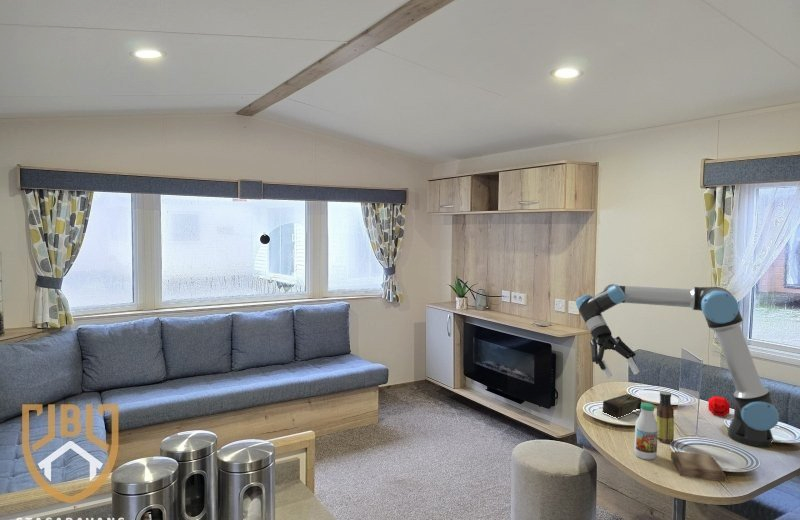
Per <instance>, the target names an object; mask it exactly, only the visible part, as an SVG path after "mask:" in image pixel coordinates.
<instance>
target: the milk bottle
mask: <svg viewBox="0 0 800 520" xmlns="http://www.w3.org/2000/svg"><path fill="white" fill-rule="evenodd" d="M654 412H655V405H654V404H652V403H650V402H641V410H640V413H639V416H638V417H637V418H636V421H635V424H634V425H635V427H634V428H635V429H634V443H633V444H634V445H633V453H634V455H635V456H636V457H638V458H640V459H643V460H647V461H650V460H651V461H652V460H655V459H656V458H657V451H658V439H657V435H658V427H657V423H656V422H657V419H655V413H654Z"/></svg>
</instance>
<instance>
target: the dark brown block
mask: <svg viewBox="0 0 800 520" xmlns="http://www.w3.org/2000/svg"><path fill="white" fill-rule="evenodd" d="M641 403H642V398H640V397H637V396H634V395H632V394H631V393H626V394H623V395H620V396H615V397H613V398H609V399H606V400H603V401H602V412H604V413H607V414H609V415H611V416H613V417H616V418H618V417H621V416H623V417H625V416H624V415H626V414H629V413H631V412H632V411H633V410H636V409H640V411H641ZM629 415H630V414H629ZM626 416H627V415H626ZM613 417H612V418H613ZM621 418H622V417H621ZM618 419H619V418H618Z"/></svg>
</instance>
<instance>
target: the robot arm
mask: <svg viewBox="0 0 800 520" xmlns="http://www.w3.org/2000/svg"><path fill="white" fill-rule="evenodd" d="M618 304H634V305H635V304H636V305H637V304H638V305H650V306H663V307H664V306H665V307H678V308H679V307H682V308H690V309H691V310H693V311H701V312H702V314H703V315H704V318H705V322H706V324H707V326H708V328H709V330H710V329H711V330H713V331H714V333H715V335H716V338H717V341H718V343H719V345H720V348H721V351H722V355H723V357H724V360H725V362H726V364H727V365H726V366H727V368H728V371H729V373H730V375H731V376H730V377H731V379H732V381H733V384H734V386H735V391H734V393H733V397H734V414H733V415H734V416H733V418H732V421H730V425H729V426H728V429H727V435H728V437H729V438H730V439H732V440H734V441H736V442H738V443H741V444H744V445H748V446H752V447H760V448H763V447H764V448H765V447H770V446H772V445H773V444H772V443H771V441H772V440H773V441H774V437H773V433H772V431H771V429H773V428H775V426H777V425H778V424H779V420H780V413H779V411H778V409H777V408H776V405H775V403H774V400H773V398H772V396H771V395H772V388H771V387H770V385H767V384H763V383H762V380H761V379H760V375H759V372H758V371H757V368H756V366H755V362H754V360H753V356H752V354H751V352H750V349H749V346H748V343H747V341H746V338H745V336H744V332H743V330H742V328H741V324H742V323H743V321H744V320H743V317H742V314H741V312H740V308H739V303H738V300H737V299H736V297H735V296H734V295H733V294H732V293H731V292H730V291H729V290H728V289H726V288H723V287H719V286H701V287H700V286H693V287H691V288H677V287H672V288H671V287H653V286H635V285H633V286H632V285H618V284H615V283H613V284H609V285H607V286H605V288H604V289H603V291H600V292H599V293H598V294H596V295H594V296H592V295H590V294H585V295H582V296H580V297H579V298H577V300H576V302H575V305H576V307H577V309H578V312H579V313H580V315H581V317H582V319H583V321H584V323H585V325H586V327H587V328H588V330H589V332H590V335H591V336H592V339H591V340H590V341H589V344H590V347H591V362H592V363H595V364H596V365H598V366H599V367H600V370H602V371H603V373H604V375H605V377H606V379H609V378H611V377H612V376H613V373H612V371H611V369H610V368H609V366H608V364H607V362H606V360H605V359H604V354H605V351H607V350H609V351H610V350H613V351H615V352H617V353H618V354H619V355H621V356H622V357H623V358H625V359H626V362H627V364H628V366H629V368H630V369H631V372H632V373H633V375H634V376H636V375H637V374H639V373H640V370H639V367H638V365H637V363H636V361H635V358H634V357H635V356H636V354H637V353H636V352H634V351H633V349H631V348H630V346H628V345H627V344H626V343H625V342H624V341H623V340H622V339H621V337H620V336H617V337H615V338H614V337H613V336H612V331H611V329H610V327H609V325H608V323H607V321H606V320H605V318H604V316H603V315H602V313H604V312H605V311H607V310H609V309H612V308H613V307H615V306H617V305H618ZM603 359H604V360H603Z"/></svg>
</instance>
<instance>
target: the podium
mask: <svg viewBox="0 0 800 520" xmlns="http://www.w3.org/2000/svg"><path fill="white" fill-rule="evenodd" d="M670 459H671V461H672V462H673V464H674V466H675V469H676V470H677V473H678V474H679V476H681V477H689V478H696V479H705V480H713V481H714V480H715V481H721V482H726V477H727V475H726V473H725V472H724V471H723V469H722V468H721V467H720V465H719V464H718V462H717V461H716V460H715V458H714V457H713V456H712V455H711V454H704V453H695V452H694V453H693V452H687V451H686V452H685V451H677V450H676V451H675V450H674V452H672V451H671V452H670Z"/></svg>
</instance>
